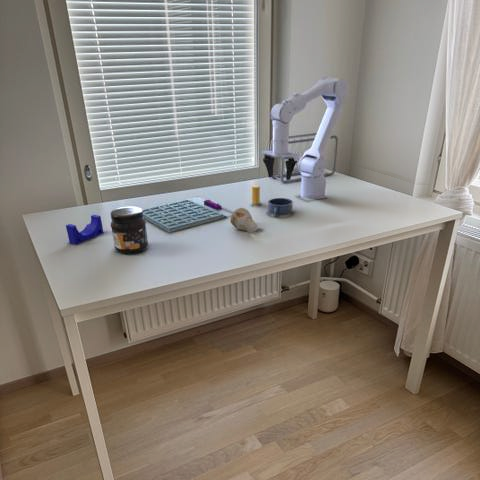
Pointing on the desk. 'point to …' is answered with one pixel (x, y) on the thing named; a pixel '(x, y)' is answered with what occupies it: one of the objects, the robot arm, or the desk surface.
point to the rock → (243, 220)
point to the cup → (280, 206)
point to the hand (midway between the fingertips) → (279, 178)
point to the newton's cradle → (296, 169)
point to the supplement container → (129, 230)
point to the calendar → (183, 213)
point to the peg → (255, 194)
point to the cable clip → (85, 230)
